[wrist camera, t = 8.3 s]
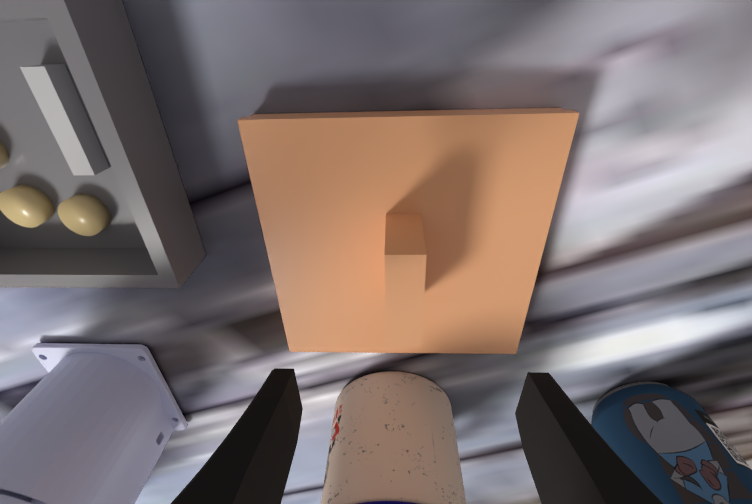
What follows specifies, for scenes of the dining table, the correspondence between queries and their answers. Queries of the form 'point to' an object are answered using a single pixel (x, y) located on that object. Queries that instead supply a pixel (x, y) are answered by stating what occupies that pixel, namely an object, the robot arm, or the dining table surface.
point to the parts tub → (85, 155)
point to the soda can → (672, 445)
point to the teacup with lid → (393, 444)
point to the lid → (406, 223)
